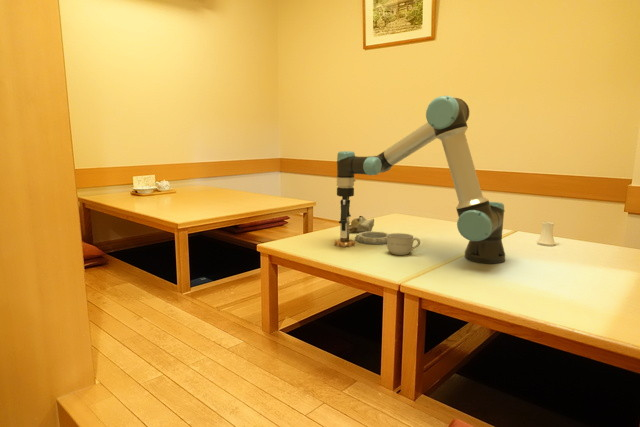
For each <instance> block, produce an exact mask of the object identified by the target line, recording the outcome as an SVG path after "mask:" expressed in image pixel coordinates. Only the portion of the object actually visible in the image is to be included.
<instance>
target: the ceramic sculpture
mask: <svg viewBox="0 0 640 427" xmlns="http://www.w3.org/2000/svg"><path fill="white" fill-rule="evenodd" d="M350 222H351V223H350V224H349V233H352V232H353V233H354V232H355V233H362V232H370V231H371V232H372V231H373V227H374V225H375V219H374V218H372V219H371V218H370V219H367V218H366V217H364V216H363V215H359V217H355V218H353V219H352V221H350Z"/></svg>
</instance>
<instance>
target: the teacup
mask: <svg viewBox="0 0 640 427" xmlns="http://www.w3.org/2000/svg"><path fill="white" fill-rule="evenodd" d="M414 241H417V244H416V245H415V246H414V245H413V244H414ZM386 246H387V250H388V251H389V252H390V253H391V254H392V255H397V256H405V255H406V256H407V255H408V254H409V253H410V252H413V251H414V250H415V249H417V248H418V247H419V246H421V240H420V239H419V237H414V235H413V234H409V233H403V232H402V233H401V232H400V233H399V232H397V233H396V232H395V233H394V232H393V233H388V234H387V244H386Z"/></svg>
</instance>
